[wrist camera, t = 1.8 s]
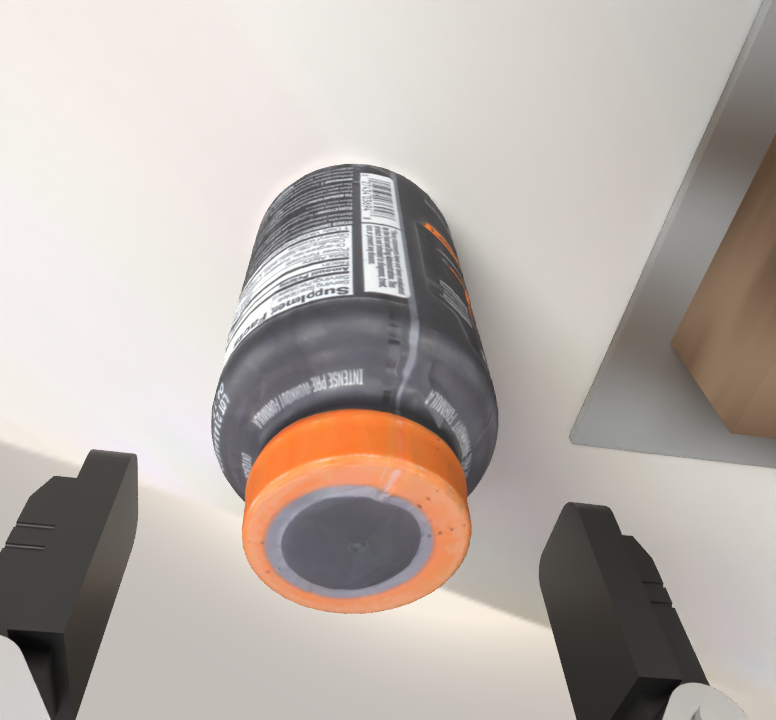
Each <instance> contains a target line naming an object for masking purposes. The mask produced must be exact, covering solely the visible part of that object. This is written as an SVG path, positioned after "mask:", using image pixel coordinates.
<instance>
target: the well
mask: <svg viewBox="0 0 776 720" xmlns="http://www.w3.org/2000/svg"><path fill="white" fill-rule="evenodd" d="M569 437H570V440H571V443H572V444H577V445H586V446H594V447H602V448H611V449H619V450H627V451H636V452H644V453H652V454H661V455H669V456H677V457H686V458H694V459H702V460H711V461H719V462H727V463H736V464H744V465H752V466H761V467H769V468H776V0H764V1H763V3H762V5H761V8H760V10H759V12H758V14H757V17H756V19H755V21H754V23H753V26H752V28H751V30H750V32H749V34H748V37H747V39H746V41H745V43H744V46H743V48H742V50H741V52H740V55H739V57H738V59H737V61H736V64H735V66H734V68H733V70H732V73H731V75H730V77H729V79H728V82H727V84H726V86H725V88H724V91H723V93H722V95H721V97H720V100H719V102H718V104H717V106H716V108H715V111H714V113H713V115H712V117H711V120H710V122H709V124H708V126H707V129H706V131H705V133H704V135H703V138H702V140H701V142H700V144H699V147H698V149H697V151H696V153H695V156H694V158H693V160H692V162H691V165H690V167H689V169H688V171H687V174H686V176H685V178H684V180H683V183H682V185H681V187H680V189H679V191H678V194H677V196H676V198H675V200H674V203H673V205H672V207H671V209H670V212H669V214H668V216H667V218H666V221H665V223H664V225H663V227H662V230H661V232H660V234H659V236H658V239H657V241H656V243H655V245H654V248H653V250H652V252H651V254H650V257H649V259H648V261H647V263H646V265H645V268H644V270H643V272H642V274H641V277H640V279H639V281H638V283H637V286H636V288H635V290H634V292H633V295H632V297H631V299H630V301H629V304H628V306H627V308H626V310H625V313H624V315H623V317H622V319H621V322H620V324H619V326H618V328H617V331H616V333H615V335H614V337H613V340H612V342H611V344H610V346H609V348H608V351H607V353H606V355H605V357H604V360H603V362H602V364H601V366H600V369H599V371H598V373H597V375H596V378H595V380H594V382H593V384H592V387H591V389H590V391H589V393H588V396H587V398H586V400H585V402H584V405H583V407H582V409H581V411H580V414H579V416H578V418H577V420H576V422H575V425H574V427H573V429H572V431H571V434H570V436H569Z"/></svg>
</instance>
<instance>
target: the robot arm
mask: <svg viewBox="0 0 776 720" xmlns="http://www.w3.org/2000/svg"><path fill="white" fill-rule="evenodd" d="M137 521H138V465H137V456H136V454H132V453H122V452H113V451H104V450H95V449H93V450H91V451H90V452H89V454H88V455H87V457H86V459H85V462H84V464H83V466H82V468H81V470H80V472H79V475H78V477H77V478H69V477H61V476H53V477H52V478H51V479H50V480H49V481H48V482H46V483H45V484H44V485H43V486H42V487H40V488H39V489H38V490H37V491H36V492H35V493H33V494H32V495H31V496H30V497H29V499H28V501H27V503H26V505H25V507H24V509H23V510H22V512H21V514H20V517H19V518H18V520H17V523H16V527H14V528H13V530H12V531H11V533H10V535H9V537H8V539H7V541H6V545H5V548H3V549H2V550H1V552H0V720H75V719H76V716H77V713H78V711H79V708H80V705H81V702H82V699H83V695H84V692H85V689H86V686H87V683H88V680H89V677H90V674H91V671H92V668H93V665H94V662H95V659H96V656H97V653H98V650H99V647H100V644H101V641H102V638H103V635H104V632H105V629H106V626H107V623H108V620H109V617H110V614H111V611H112V608H113V605H114V602H115V599H116V596H117V593H118V590H119V587H120V583H121V581H122V577H123V574H124V571H125V568H126V565H127V562H128V559H129V556H130V553H131V550H132V547H133V543H134V539H135V534H136V528H137ZM539 581H540V587H541V591H542V594H543V598H544V602H545V605H546V609H547V613H548V616H549V620H550V624H551V627H552V631H553V635H554V638H555V642H556V645H557V649H558V653H559V657H560V660H561V664H562V668H563V671H564V675H565V679H566V682H567V686H568V690H569V693H570V697H571V701H572V704H573V708H574V712H575V715H576V719H577V720H749V718H748V717H747V715H746V714H745V713H744V711H743V710H742V709H741V708H740V707H739V706H738V705H737V704H736V703H735V702H734V701H733V700H732V699H730V698H729V697H728V696H726V695H725V694H724V693H722V692H721V691H719V690H717V689H715V688H713V687H710V685H709V683H708V681H707V679H706V677H705V674H704V672H703V670H702V668H701V665H700V663H699V661H698V659H697V657H696V654H695V652H694V650H693V648H692V646H691V643H690V641H689V639H688V637H687V634H686V632H685V630H684V628H683V626H682V623H681V621H680V619H679V617H678V615H677V612H676V610H675V608H672V601H671V599H670V597H669V595H668V592H667V590H666V588H663V581H662V579H661V577H660V575H659V572H658V570H657V568H656V566H655V564H654V561H653V559H652V558H651V557H650V555H649V554H648V553H647V552H646V551H645V550H644V549H643V547H642V546H641V545H640V544H639V543H638V542H637V541H636V539H635V538H634V537H633V536H626V535H622V533H621V531H620V529H619V526H618V524H617V522H616V519H615V517H614V514H613V512H612V511H611V509H610V508H609V507H607V506H602V505H592V504H583V503H574V502H569V503H567V504H566V505H565V506H564V507H563V509H562V511H561V514H560V516H559V518H558V520H557V522H556V524H555V527H554V529H553V531H552V533H551V535H550V537H549V540H548V542H547V544H546V546H545V548H544V550H543V553H542V555H541V559H540V565H539Z"/></svg>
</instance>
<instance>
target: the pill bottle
mask: <svg viewBox="0 0 776 720" xmlns="http://www.w3.org/2000/svg"><path fill="white" fill-rule="evenodd" d="M211 427H212V439H213V445H214V449H215V453H216V456H217V459H218V461H219V464H220V467H221V469H222V471H223V473H224V475H225V477H226V479H227V480H228V482H229V483H230V485H231V486H232V487H233V489H234V490H235V491H236V493H237V494H238V495H239V496H240V497H241V499H243V500H244V501H245V511H244V518H243V526H242V539H243V548H244V551H245V555H246V557H247V560H248V562H249V564H250V566H251V568H252V569H253V571H254V572H255V573H256V574H257V575H258V577H259V578H260V579H261V580H262V581H263V582H264V583H265V584H266V585H267V586H268V587H270V588H271V589H272V590H274V591H275V592H277V593H278V594H280V595H282V596H283V597H284V598H286V599H288V600H291V601H293V602H295V603H297V604H299V605H302V606H305V607H308V608H313V609H317V610H322V611H327V612H335V613H344V614H347V613H360V614H362V613H373V612H380V611H384V610H389V609H393V608H397V607H400V606H403V605H406V604H409V603H412V602H414V601H416V600H418V599H420V598H422V597H424V596H426V595H428V594H430V593H432V592H433V591H435V590H436V589H437V588H439V587H440V586H442V585H443V584H444V583H445V582H446V581H447V580H448V579H449V578H450V577H451V576H452V575H453V574H454V573H455V572H456V570H457V569H458V568H459V566H460V565H461V563H462V562H463V560H464V558H465V556H466V553H467V551H468V548H469V543H470V537H471V519H470V513H469V508H468V503H467V497H468V496H469V495H470V493H471V492H472V491H473V490H474V489H475V487H476V486H477V484H478V483H479V481H480V480H481V478H482V477H483V475H484V473H485V471H486V469H487V467H488V465H489V463H490V461H491V458H492V455H493V452H494V448H495V445H496V439H497V433H498V408H497V402H496V396H495V392H494V387H493V383H492V380H491V377H490V373H489V369H488V365H487V361H486V358H485V354H484V351H483V348H482V344H481V341H480V336H479V333H478V330H477V327H476V323H475V319H474V316H473V312H472V309H471V303H470V299H469V297H468V293H467V290H466V286H465V283H464V279H463V275H462V272H461V269H460V265H459V261H458V258H457V254H456V250H455V248H454V245H453V241H452V238H451V234H450V231H449V228H448V225H447V223H446V221H445V219H444V217H443V215H442V213H441V212H440V211H439V209H438V208H437V206H436V205H435V204H434V203H433V201H432V200H431V199H430V197H429V196H428V195H427V194H426V193H425V192H424V191H423V190H422V189H420V188H419V187H418V186H417V185H416V184H414V183H413V182H411V181H410V180H408V179H407V178H405V177H403V176H402V175H400V174H397V173H394V172H392V171H390V170H388V169H385V168H381V167H377V166H372V165H364V164H343V165H335V166H330V167H326V168H322V169H319V170H316V171H314V172H312V173H309V174H307V175H305V176H304V177H302V178H300V179H299V180H297V181H296V182H294V183H293V184H291V185H290V186H289V187H287V188H286V189H285V190H284V191H282V192H281V193H280V194H279V195H278V197H277V198H276V199H275V200H274V201H273V203H272V204H271V205H270V207H269V208H268V210H267V212H266V213H265V215H264V217H263V220H262V222H261V224H260V227H259V230H258V233H257V236H256V240H255V244H254V247H253V250H252V255H251V259H250V262H249V266H248V270H247V272H246V278H245V281H244V284H243V287H242V292H241V295H240V298H239V302H238V305H237V308H236V312H235V315H234V319H233V322H232V326H231V329H230V332H229V336H228V342H227V347H226V352H225V356H224V361H223V366H222V370H221V375H220V379H219V383H218V387H217V390H216V394H215V398H214V402H213V407H212V425H211Z"/></svg>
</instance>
